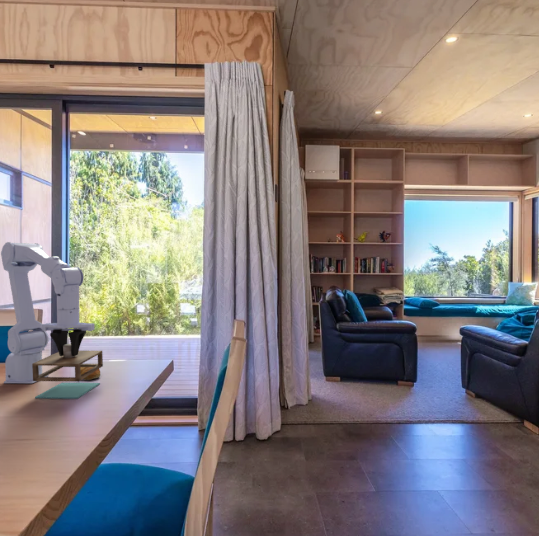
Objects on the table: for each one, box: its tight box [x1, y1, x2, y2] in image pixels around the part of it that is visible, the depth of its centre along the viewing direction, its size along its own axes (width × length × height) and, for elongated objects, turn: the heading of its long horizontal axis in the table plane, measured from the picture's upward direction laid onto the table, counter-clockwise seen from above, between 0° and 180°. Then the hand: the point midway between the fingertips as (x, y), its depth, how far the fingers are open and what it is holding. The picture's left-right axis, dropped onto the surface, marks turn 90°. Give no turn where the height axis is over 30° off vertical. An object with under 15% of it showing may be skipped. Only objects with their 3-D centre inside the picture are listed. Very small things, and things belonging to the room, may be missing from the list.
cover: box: [32, 343, 104, 383], centre depth 106 cm, size 13×13×8 cm
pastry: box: [80, 367, 101, 381], centre depth 119 cm, size 9×7×4 cm
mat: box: [34, 382, 101, 400], centre depth 106 cm, size 12×12×1 cm
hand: (68, 355), depth 106 cm, fingers closed on cover, 3 cm apart
